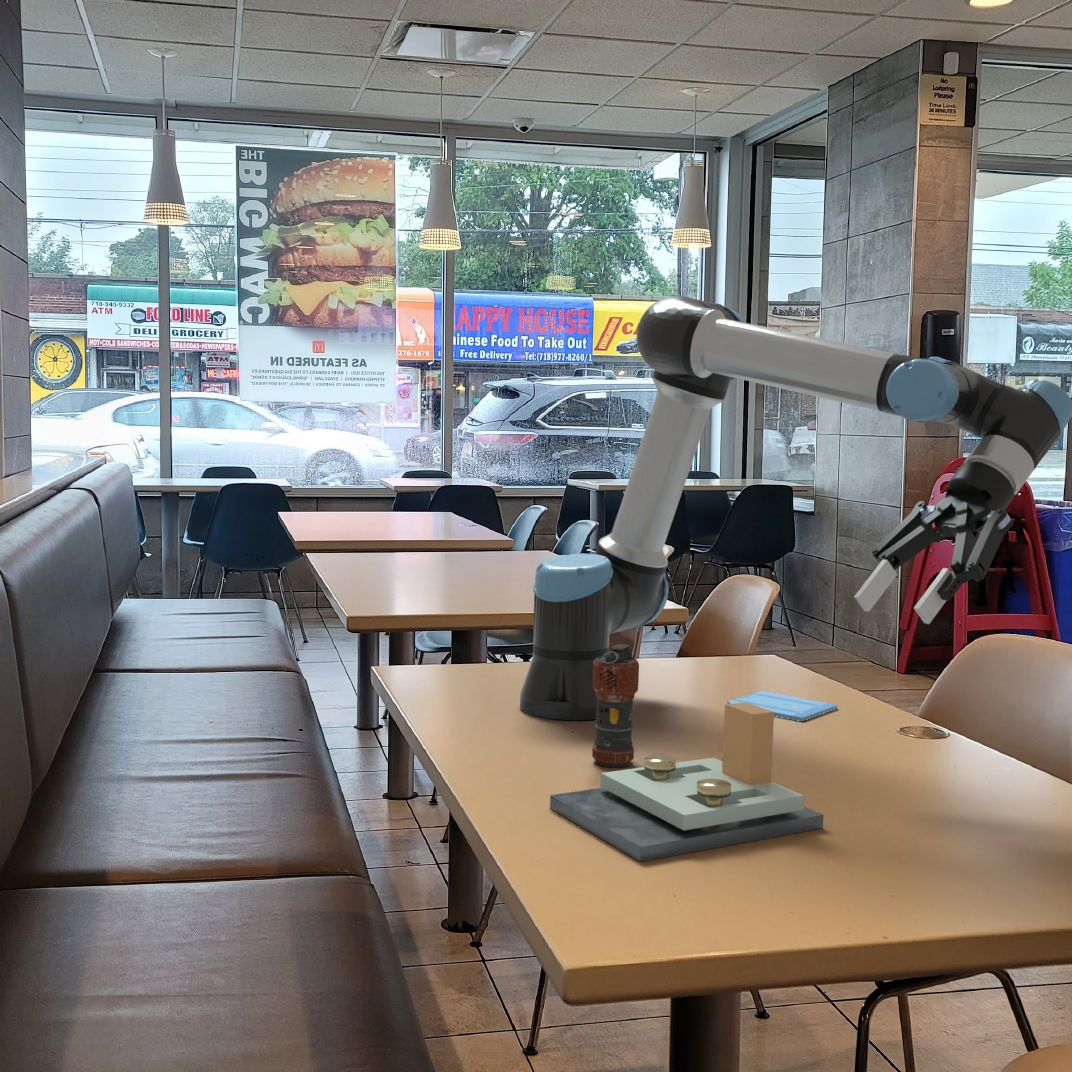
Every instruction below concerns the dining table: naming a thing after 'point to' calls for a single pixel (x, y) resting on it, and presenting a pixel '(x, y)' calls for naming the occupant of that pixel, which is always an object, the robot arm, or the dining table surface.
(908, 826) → the dining table surface
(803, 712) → the light blue flat panel
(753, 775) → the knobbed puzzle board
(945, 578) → the robot arm
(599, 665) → the grenade
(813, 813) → the mounting plate
